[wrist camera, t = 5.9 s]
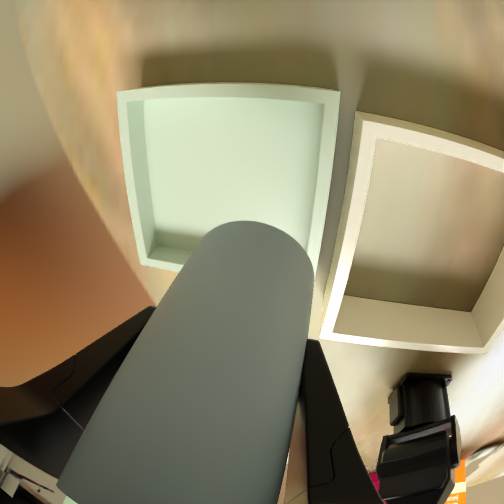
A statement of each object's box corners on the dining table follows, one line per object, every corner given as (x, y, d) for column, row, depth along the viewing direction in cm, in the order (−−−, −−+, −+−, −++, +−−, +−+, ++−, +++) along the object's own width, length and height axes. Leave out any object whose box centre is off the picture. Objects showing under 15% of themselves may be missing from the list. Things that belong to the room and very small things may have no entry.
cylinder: (324, 231, 10) (272, 571, 2) (303, 327, 13) (255, 554, 5) (190, 212, 11) (15, 459, 3) (198, 306, 14) (104, 504, 6)
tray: (338, 90, 16) (340, 92, 14) (314, 271, 24) (311, 295, 22) (140, 87, 19) (116, 91, 16) (157, 245, 27) (140, 264, 24)
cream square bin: (537, 165, 14) (569, 188, 10) (473, 318, 23) (485, 354, 19) (355, 110, 17) (363, 120, 13) (323, 299, 26) (319, 338, 22)
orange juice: (448, 469, 46) (445, 538, 30) (419, 472, 48) (413, 545, 32) (465, 459, 42) (464, 534, 26) (434, 462, 43) (431, 542, 27)
